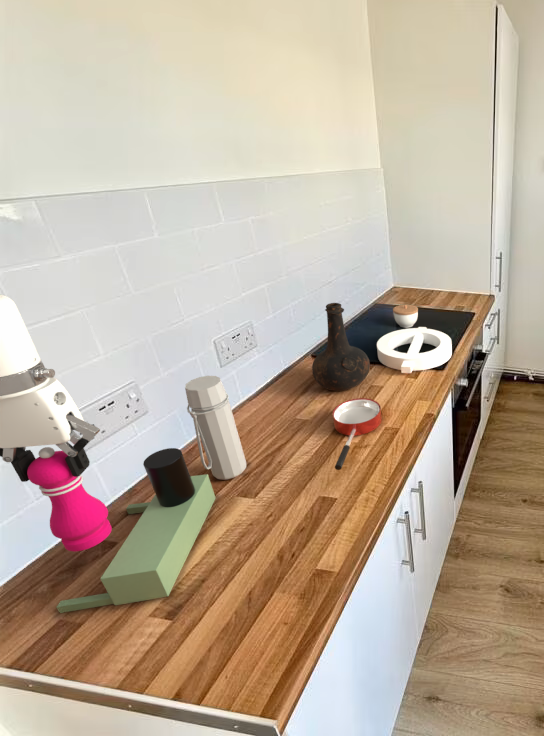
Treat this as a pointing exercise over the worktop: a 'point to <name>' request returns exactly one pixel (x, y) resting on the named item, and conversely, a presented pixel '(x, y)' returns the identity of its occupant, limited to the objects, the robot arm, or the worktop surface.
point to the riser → (151, 551)
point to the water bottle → (215, 427)
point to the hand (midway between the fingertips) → (56, 472)
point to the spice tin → (169, 477)
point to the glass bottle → (339, 356)
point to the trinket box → (405, 315)
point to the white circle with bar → (414, 349)
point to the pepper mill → (69, 502)
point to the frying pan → (355, 421)
